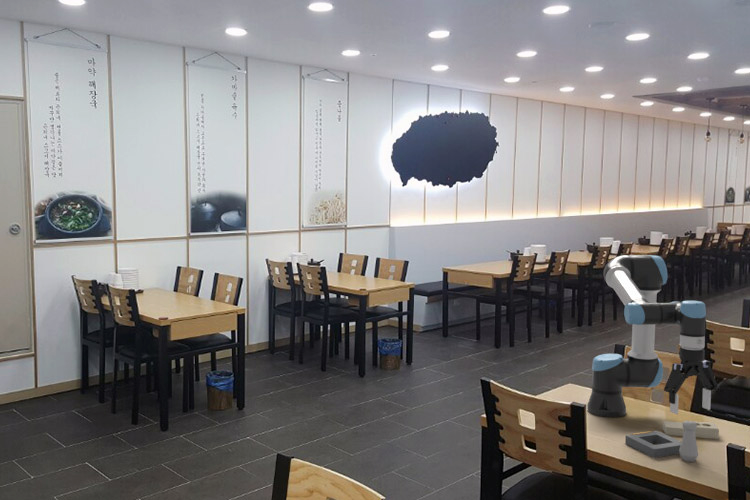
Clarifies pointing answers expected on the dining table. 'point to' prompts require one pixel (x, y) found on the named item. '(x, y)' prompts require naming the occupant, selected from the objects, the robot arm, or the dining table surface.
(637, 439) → the caddy block
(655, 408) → the dining table surface
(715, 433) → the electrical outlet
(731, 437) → the dining table surface
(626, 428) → the dining table surface
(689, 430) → the salt shaker
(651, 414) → the dining table surface
